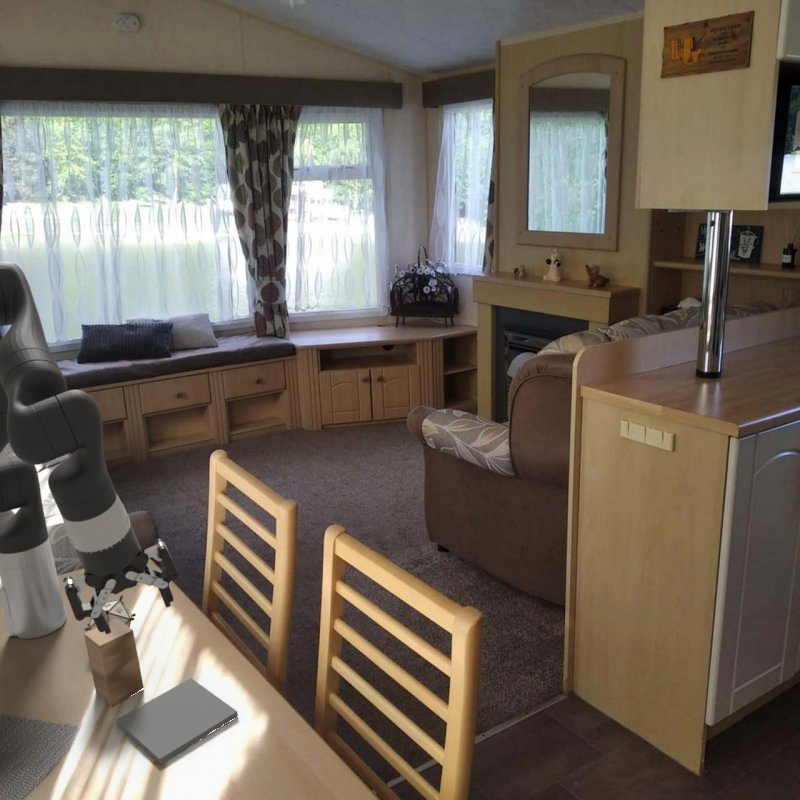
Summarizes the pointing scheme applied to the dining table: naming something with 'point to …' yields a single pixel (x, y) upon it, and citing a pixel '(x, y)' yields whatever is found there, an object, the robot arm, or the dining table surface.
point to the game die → (114, 613)
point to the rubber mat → (175, 720)
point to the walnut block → (114, 662)
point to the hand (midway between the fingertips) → (137, 616)
